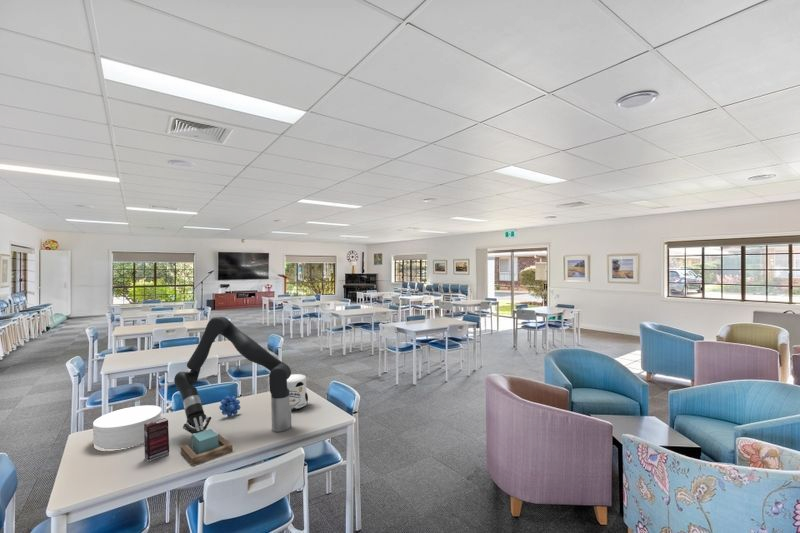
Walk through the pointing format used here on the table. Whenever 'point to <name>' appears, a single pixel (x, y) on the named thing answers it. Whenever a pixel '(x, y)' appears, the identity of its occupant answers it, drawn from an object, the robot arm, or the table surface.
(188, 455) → the walnut bay
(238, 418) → the table surface
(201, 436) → the teal block
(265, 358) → the robot arm
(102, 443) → the plate stack
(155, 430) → the supplement box
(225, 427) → the table surface
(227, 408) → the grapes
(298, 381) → the milk container
